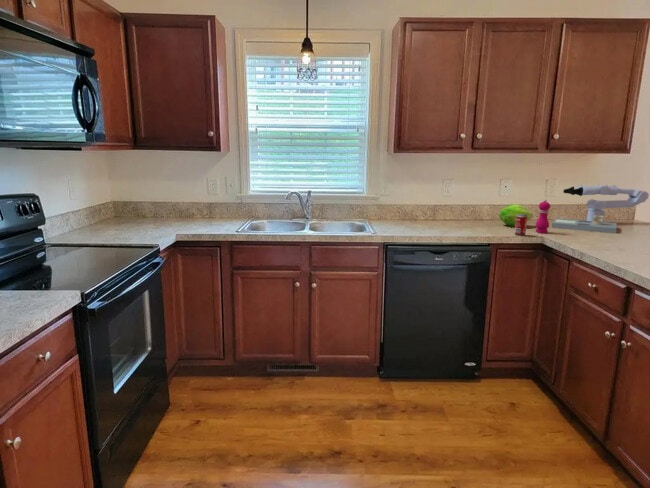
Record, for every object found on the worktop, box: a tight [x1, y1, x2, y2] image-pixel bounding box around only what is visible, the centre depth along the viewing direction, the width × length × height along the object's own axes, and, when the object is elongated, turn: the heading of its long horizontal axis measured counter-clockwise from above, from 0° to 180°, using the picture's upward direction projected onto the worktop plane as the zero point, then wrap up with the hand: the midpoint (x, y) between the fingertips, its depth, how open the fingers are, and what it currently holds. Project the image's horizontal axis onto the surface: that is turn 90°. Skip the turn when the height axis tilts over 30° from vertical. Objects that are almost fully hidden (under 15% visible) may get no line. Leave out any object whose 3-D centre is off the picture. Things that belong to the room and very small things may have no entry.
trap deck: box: [551, 217, 618, 234], centre depth 271 cm, size 34×22×3 cm, turn 56°
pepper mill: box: [535, 199, 551, 234], centre depth 253 cm, size 7×7×20 cm
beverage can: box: [514, 214, 528, 237], centre depth 246 cm, size 6×6×12 cm
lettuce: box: [498, 203, 534, 227], centre depth 275 cm, size 15×20×14 cm
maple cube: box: [593, 215, 603, 225], centre depth 266 cm, size 5×5×5 cm
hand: (566, 191), depth 283 cm, fingers open, 7 cm apart
